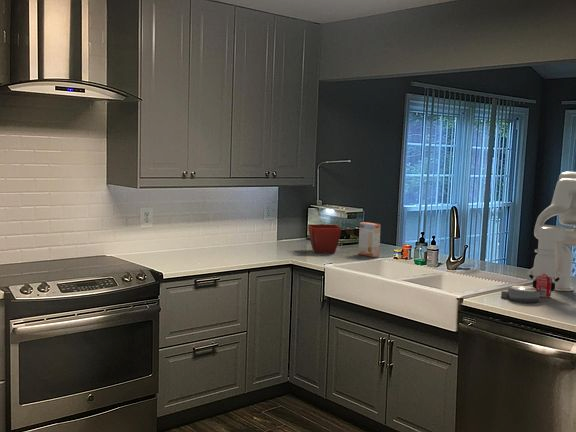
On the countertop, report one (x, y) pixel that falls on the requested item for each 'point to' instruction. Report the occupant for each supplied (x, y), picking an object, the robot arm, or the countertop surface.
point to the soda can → (544, 285)
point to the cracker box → (369, 239)
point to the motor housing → (522, 294)
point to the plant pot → (324, 238)
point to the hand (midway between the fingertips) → (543, 289)
